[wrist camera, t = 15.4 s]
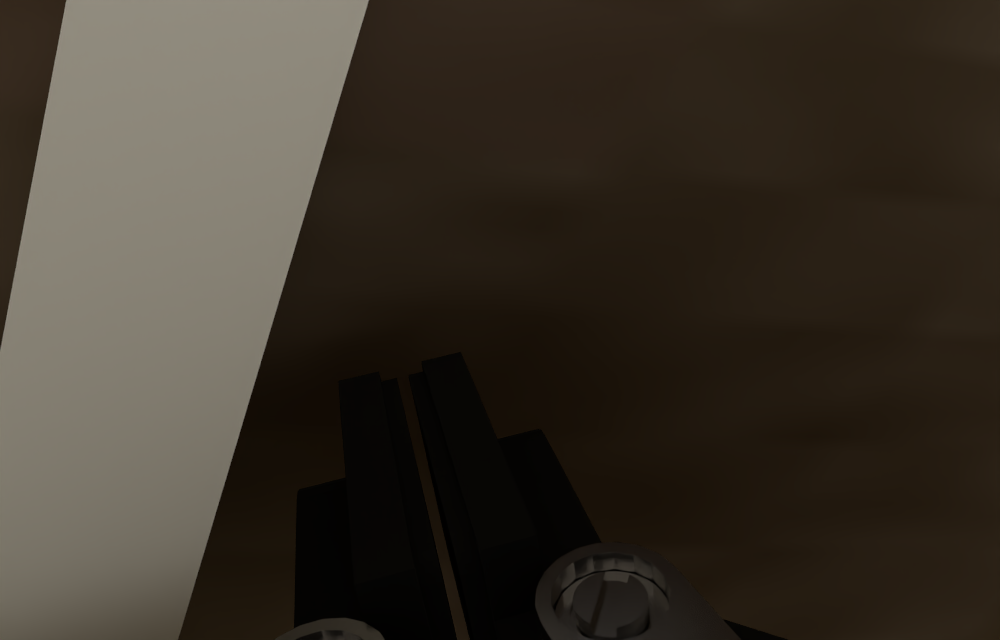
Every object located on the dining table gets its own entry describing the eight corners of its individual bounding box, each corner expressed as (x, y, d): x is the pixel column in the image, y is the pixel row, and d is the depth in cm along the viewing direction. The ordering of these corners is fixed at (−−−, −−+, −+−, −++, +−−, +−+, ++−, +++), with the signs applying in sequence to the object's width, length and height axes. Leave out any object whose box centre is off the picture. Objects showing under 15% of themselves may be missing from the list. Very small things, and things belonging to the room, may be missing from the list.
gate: (261, -449, 8) (210, -1181, 3) (448, -342, 9) (661, -785, 4) (-2, 730, 12) (-197, 1224, 7) (133, 738, 13) (38, 1195, 8)
